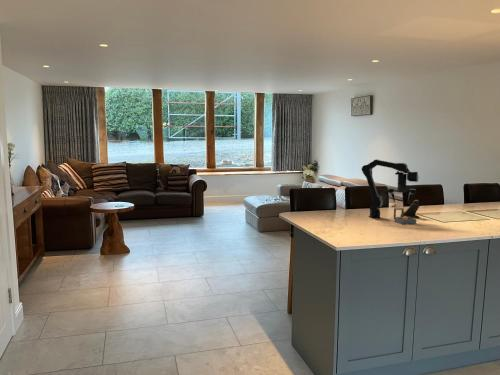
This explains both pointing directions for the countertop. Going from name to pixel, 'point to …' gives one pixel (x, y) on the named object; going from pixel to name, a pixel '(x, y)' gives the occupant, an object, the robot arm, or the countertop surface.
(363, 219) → the countertop surface
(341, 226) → the countertop surface
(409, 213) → the sculpture
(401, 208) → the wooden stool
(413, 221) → the tray
